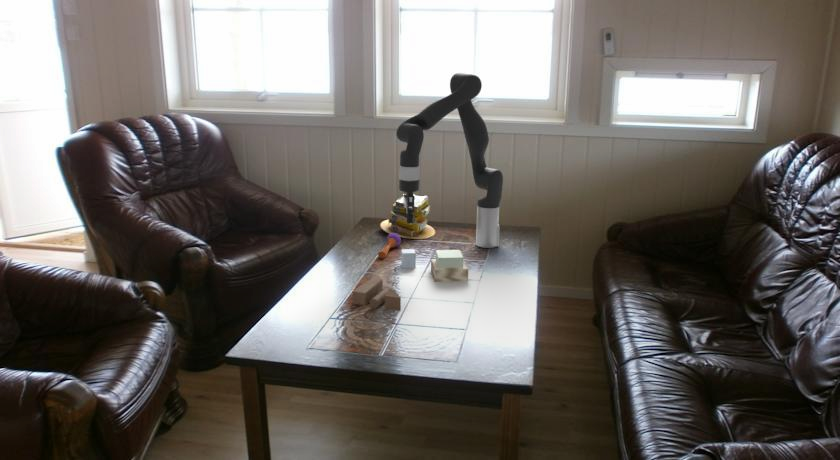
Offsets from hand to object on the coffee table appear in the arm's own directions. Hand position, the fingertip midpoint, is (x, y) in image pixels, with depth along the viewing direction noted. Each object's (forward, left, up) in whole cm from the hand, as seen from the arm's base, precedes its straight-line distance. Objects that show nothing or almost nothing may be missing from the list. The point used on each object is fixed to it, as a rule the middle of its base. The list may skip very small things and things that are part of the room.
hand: (408, 220), depth 249 cm
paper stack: (-4, -47, -19) cm, 51 cm away
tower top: (-14, +12, -14) cm, 23 cm away
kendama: (+6, -19, -19) cm, 27 cm away
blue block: (0, 0, -18) cm, 18 cm away
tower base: (-14, +12, -19) cm, 26 cm away
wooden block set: (+11, +33, -19) cm, 40 cm away
